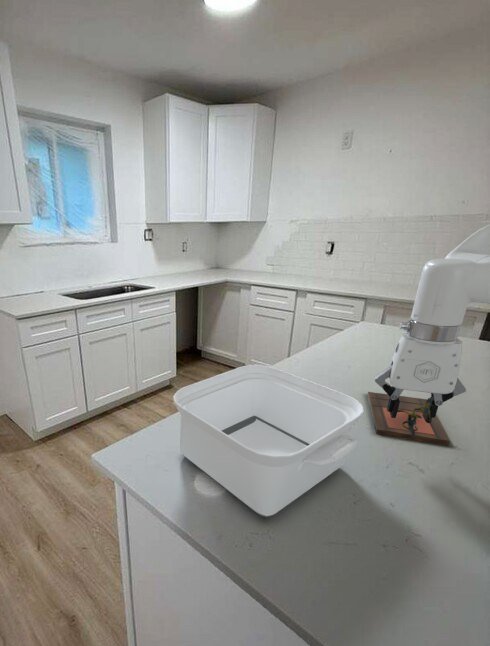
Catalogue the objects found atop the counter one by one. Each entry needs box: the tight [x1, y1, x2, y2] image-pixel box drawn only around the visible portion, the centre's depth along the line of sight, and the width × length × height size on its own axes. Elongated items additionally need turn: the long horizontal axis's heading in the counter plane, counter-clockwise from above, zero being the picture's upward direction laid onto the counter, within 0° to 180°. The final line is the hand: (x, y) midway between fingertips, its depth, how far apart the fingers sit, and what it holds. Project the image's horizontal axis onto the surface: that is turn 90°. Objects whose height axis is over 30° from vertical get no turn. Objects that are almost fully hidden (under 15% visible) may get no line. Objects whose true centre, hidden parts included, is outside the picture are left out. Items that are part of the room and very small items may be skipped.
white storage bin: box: [172, 364, 365, 518], centre depth 72 cm, size 34×29×15 cm
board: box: [366, 391, 451, 446], centre depth 89 cm, size 14×20×1 cm
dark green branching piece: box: [397, 403, 432, 437], centre depth 71 cm, size 8×6×6 cm
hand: (409, 416), depth 72 cm, fingers closed on dark green branching piece, 5 cm apart
